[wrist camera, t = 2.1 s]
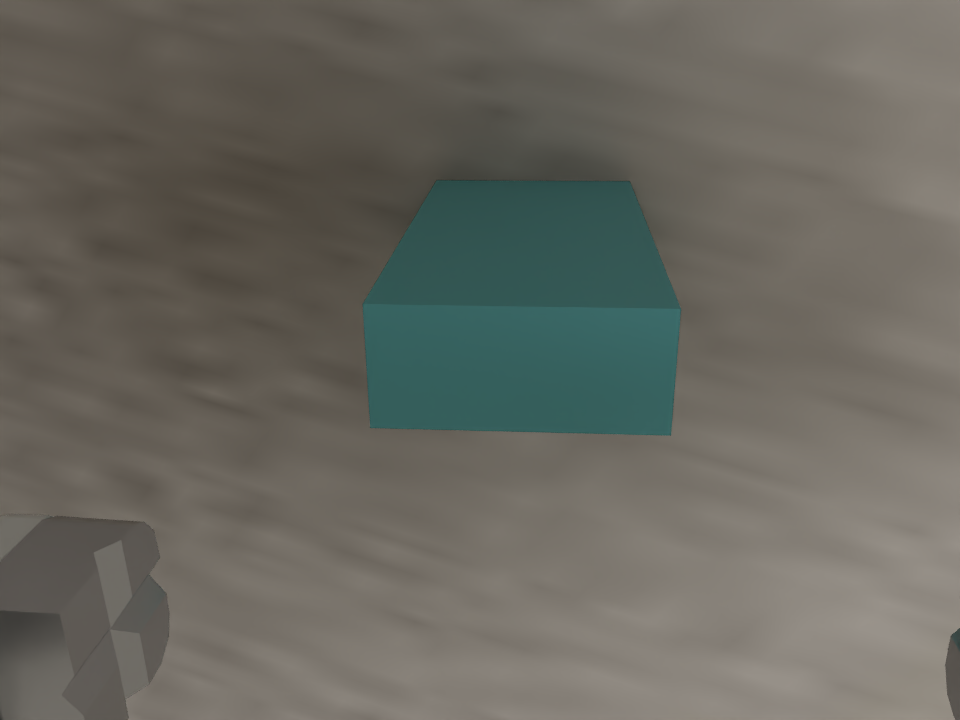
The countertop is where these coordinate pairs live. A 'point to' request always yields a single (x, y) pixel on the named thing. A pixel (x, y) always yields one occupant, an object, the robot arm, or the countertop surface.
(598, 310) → the domino
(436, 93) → the countertop surface
